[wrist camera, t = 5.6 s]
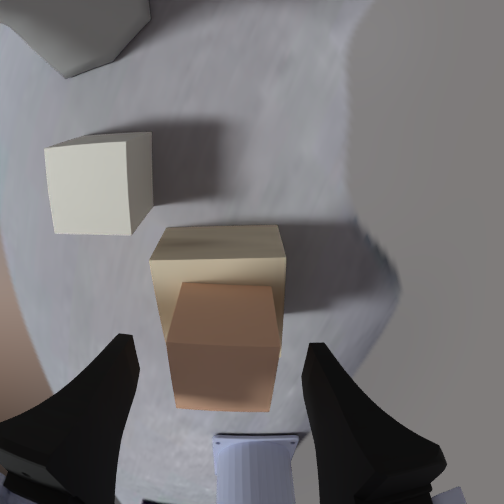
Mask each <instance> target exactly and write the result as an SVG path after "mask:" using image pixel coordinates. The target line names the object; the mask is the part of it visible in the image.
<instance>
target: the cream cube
mask: <svg viewBox="0 0 504 504" xmlns="http://www.w3.org/2000/svg"><path fill="white" fill-rule="evenodd" d="M44 152H45V164H46V175H47V184H48V192H49V200H50V207H51V213H52V219H53V225H54V231H55V234H91V235H130V236H132V234H133V233H134V232H135V230H136V229H137V227H138V226H139V225H140V223H141V222H142V221H143V219H144V218H145V217H146V215H147V214H148V213H149V211H150V210H151V209H152V208H153V206H154V205H153V180H152V132H130V133H113V134H100V135H88V136H81V137H78V138H74V139H71V140H68V141H65V142H62V143H59V144H56V145H53V146H50V147H47V148H44Z"/></svg>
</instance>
